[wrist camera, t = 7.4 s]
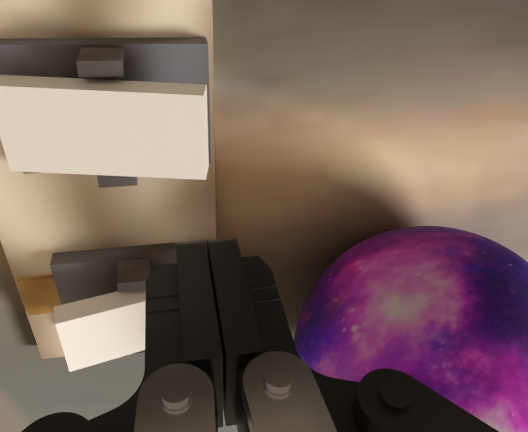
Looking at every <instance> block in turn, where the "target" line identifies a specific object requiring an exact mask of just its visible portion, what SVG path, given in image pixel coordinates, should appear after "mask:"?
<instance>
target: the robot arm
mask: <svg viewBox="0 0 528 432" xmlns="http://www.w3.org/2000/svg"><path fill="white" fill-rule="evenodd" d="M176 258H177V263H175V264H164V265H155V266H154V268H153V269H152V271H151V273H150V274H149V276H148V278H147V280H146V307H145V313H146V316H145V372H144V377H143V380H142V382H141V384H140V386H139V388H138V389H137V391H136V392H135V393H134V394H133V396H132V397H131V398H129V399H128V400H127V401H126V402H125V403H123V404H122V405H120V406H119V407H117V408H115V409H113V410H111V411H109V412H107V413H104V414H102V415H100V416H98V417H95V418H93V419H91V420H89V421H88V420H87V419H86V418H84V417H83V416H81V415H78V414H75V413H69V412H61V413H54V414H50V415H47V416H45V417H42V418H40V419H38V420H36V421H35V422H33V423H32V424H30V425H29V426H28V427H26V428H25V429H24V430H23V431H22V432H218V427H223V409H224V416H225V424H226V426H230V425H236V424H237V429H238V432H499V431H497V430H496V429H494V428H492V427H491V426H489V425H488V424H486V423H484V422H483V421H481V420H480V419H478V418H477V417H475V416H473V415H472V414H470V413H469V412H467V411H465V410H464V409H462V408H461V407H459V406H458V405H456V404H454V403H453V402H451V401H450V400H448V399H446V398H445V397H443V396H442V395H440V394H439V393H437V392H435V391H434V390H432V389H431V388H429V387H427V386H426V385H424V384H423V383H421V382H420V381H418V380H416V379H415V378H413V377H412V376H410V375H408V374H406V373H404V372H402V371H399V370H395V369H389V368H381V369H375V370H373V371H370V372H369V373H367V374H366V375H365V376H364V377H363V378H362V379H361V381H360V382H356V381H350V380H344V379H337V378H332V377H328V376H325V375H322V374H320V373H318V372H316V371H314V370H313V369H311V368H310V367H309V366H308V365H307V364H306V363H305V362H304V361H303V360H302V359H301V358H300V356H299V354H298V352H297V350H296V347H295V344H294V341H293V338H292V335H291V331H290V328H289V325H288V322H287V319H286V316H285V312H284V309H283V306H282V303H281V301H280V296H279V293H278V290H277V288H276V284H275V281H274V277H273V274H272V271H271V269H270V268H269V267H268V266H267V265H266V263H265V262H264V261H263V260H262V259H261V258H260V257H259V256H253V257H242V258H241V255H240V251H239V246H238V242H237V239H236V238H225V239H212V240H207V250H206V244H205V240H201V241H189V242H176Z"/></svg>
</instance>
